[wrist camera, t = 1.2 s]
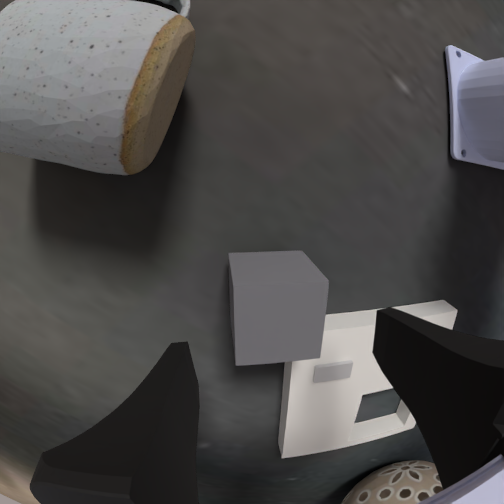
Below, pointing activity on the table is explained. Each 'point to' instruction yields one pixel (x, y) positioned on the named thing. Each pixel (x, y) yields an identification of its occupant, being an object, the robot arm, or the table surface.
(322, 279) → the plug
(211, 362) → the table surface
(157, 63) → the ceramic mug
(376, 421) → the socket
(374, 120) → the table surface
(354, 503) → the ornament
